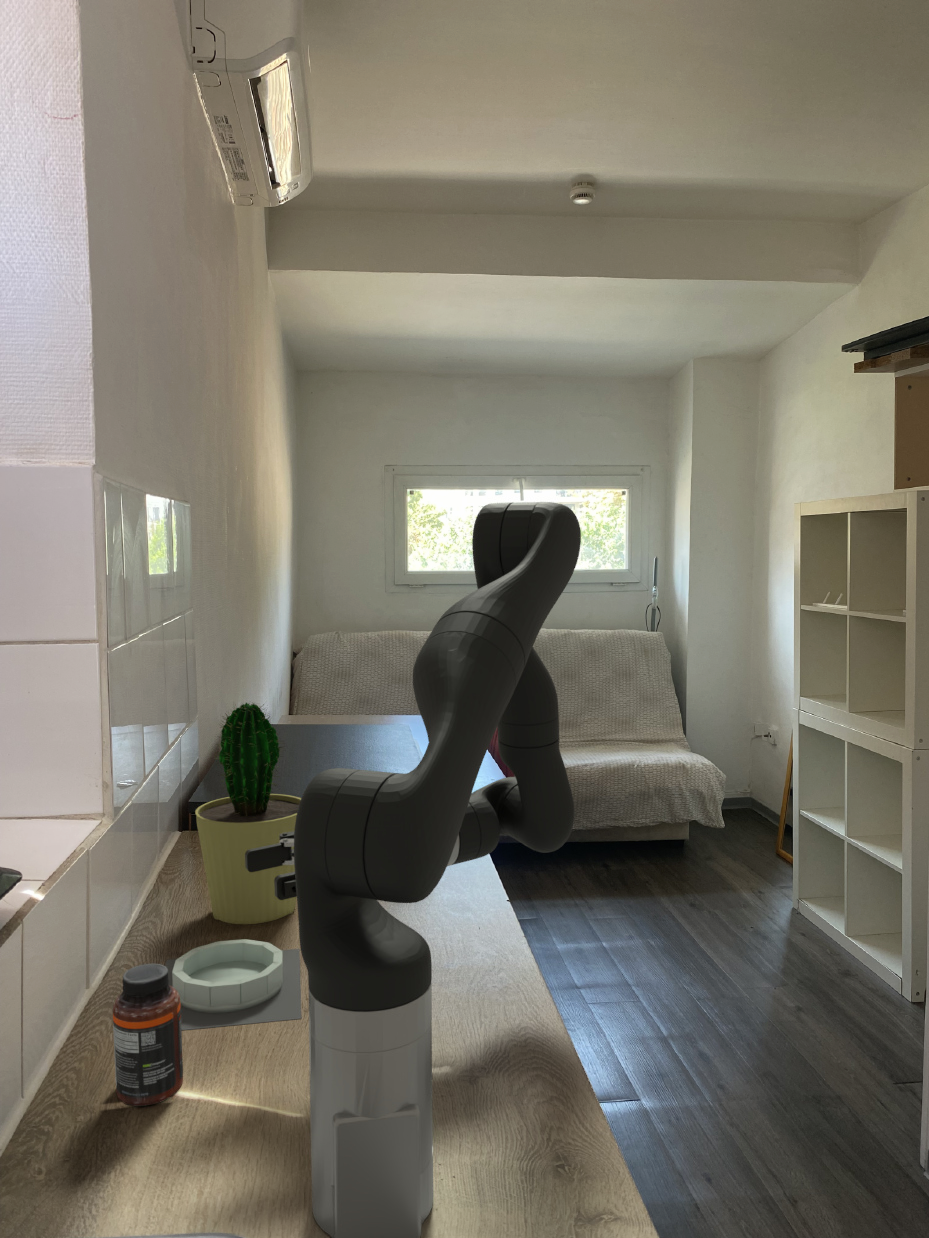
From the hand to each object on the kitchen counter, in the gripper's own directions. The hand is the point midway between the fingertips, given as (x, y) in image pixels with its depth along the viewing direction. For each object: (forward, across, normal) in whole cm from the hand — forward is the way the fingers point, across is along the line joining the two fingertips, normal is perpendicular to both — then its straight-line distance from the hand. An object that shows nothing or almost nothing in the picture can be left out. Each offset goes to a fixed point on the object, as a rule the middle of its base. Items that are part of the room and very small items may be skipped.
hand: (260, 874), depth 90 cm
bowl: (-1, -15, +18) cm, 24 cm away
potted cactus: (-11, -37, +20) cm, 44 cm away
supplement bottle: (+12, 0, +18) cm, 22 cm away
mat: (-1, -15, +19) cm, 24 cm away
